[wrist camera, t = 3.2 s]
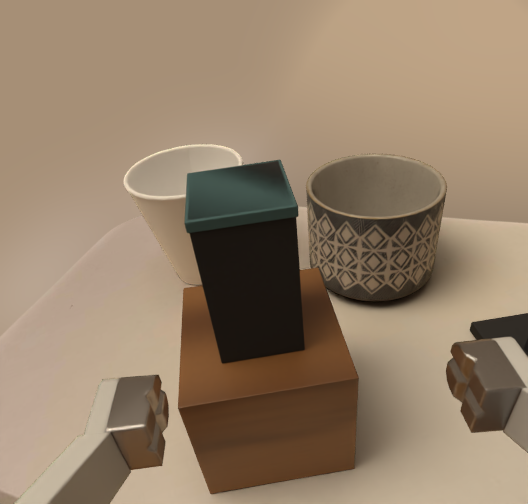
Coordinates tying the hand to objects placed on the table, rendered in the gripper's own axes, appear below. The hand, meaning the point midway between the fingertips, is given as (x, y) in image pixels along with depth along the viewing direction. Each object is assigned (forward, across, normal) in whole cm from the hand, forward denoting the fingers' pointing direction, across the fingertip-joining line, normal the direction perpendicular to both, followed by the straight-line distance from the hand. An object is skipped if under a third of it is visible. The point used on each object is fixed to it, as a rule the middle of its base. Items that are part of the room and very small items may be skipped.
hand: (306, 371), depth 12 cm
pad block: (+12, +2, +10) cm, 16 cm away
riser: (+12, +1, +20) cm, 23 cm away
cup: (+32, +8, +20) cm, 39 cm away
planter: (+28, -10, +20) cm, 36 cm away
